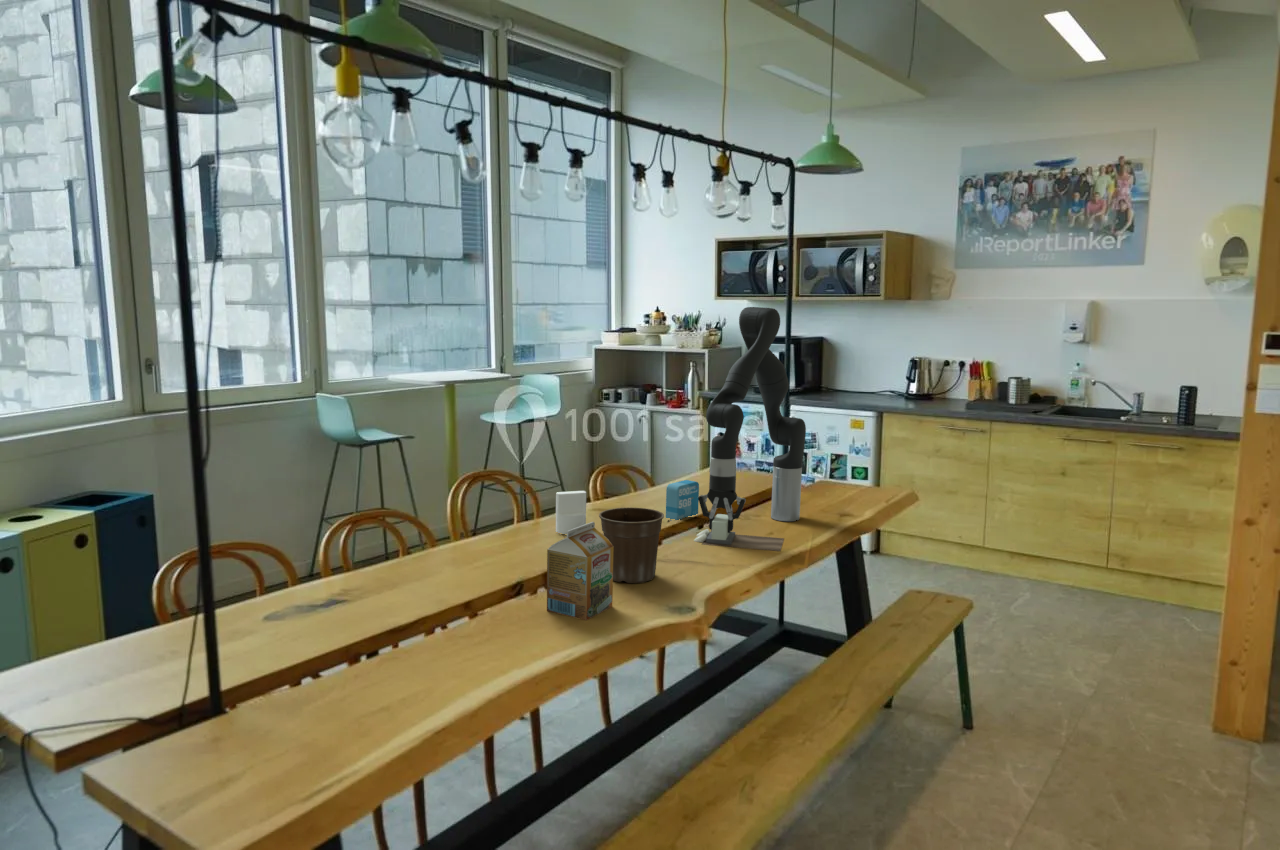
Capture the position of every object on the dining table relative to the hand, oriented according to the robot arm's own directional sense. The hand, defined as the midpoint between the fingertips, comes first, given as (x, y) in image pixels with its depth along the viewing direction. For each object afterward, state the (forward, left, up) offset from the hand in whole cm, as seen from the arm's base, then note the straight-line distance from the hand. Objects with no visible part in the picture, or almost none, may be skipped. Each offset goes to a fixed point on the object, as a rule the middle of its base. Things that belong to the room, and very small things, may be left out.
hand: (720, 531), depth 248 cm
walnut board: (0, +7, -4) cm, 8 cm away
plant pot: (+37, -17, -4) cm, 41 cm away
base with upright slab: (0, -45, -4) cm, 46 cm away
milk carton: (+63, -22, -4) cm, 67 cm away
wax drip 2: (+2, -5, -3) cm, 6 cm away
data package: (-26, -16, -4) cm, 31 cm away
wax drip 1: (-3, -5, -3) cm, 6 cm away
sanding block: (0, 0, -2) cm, 2 cm away
